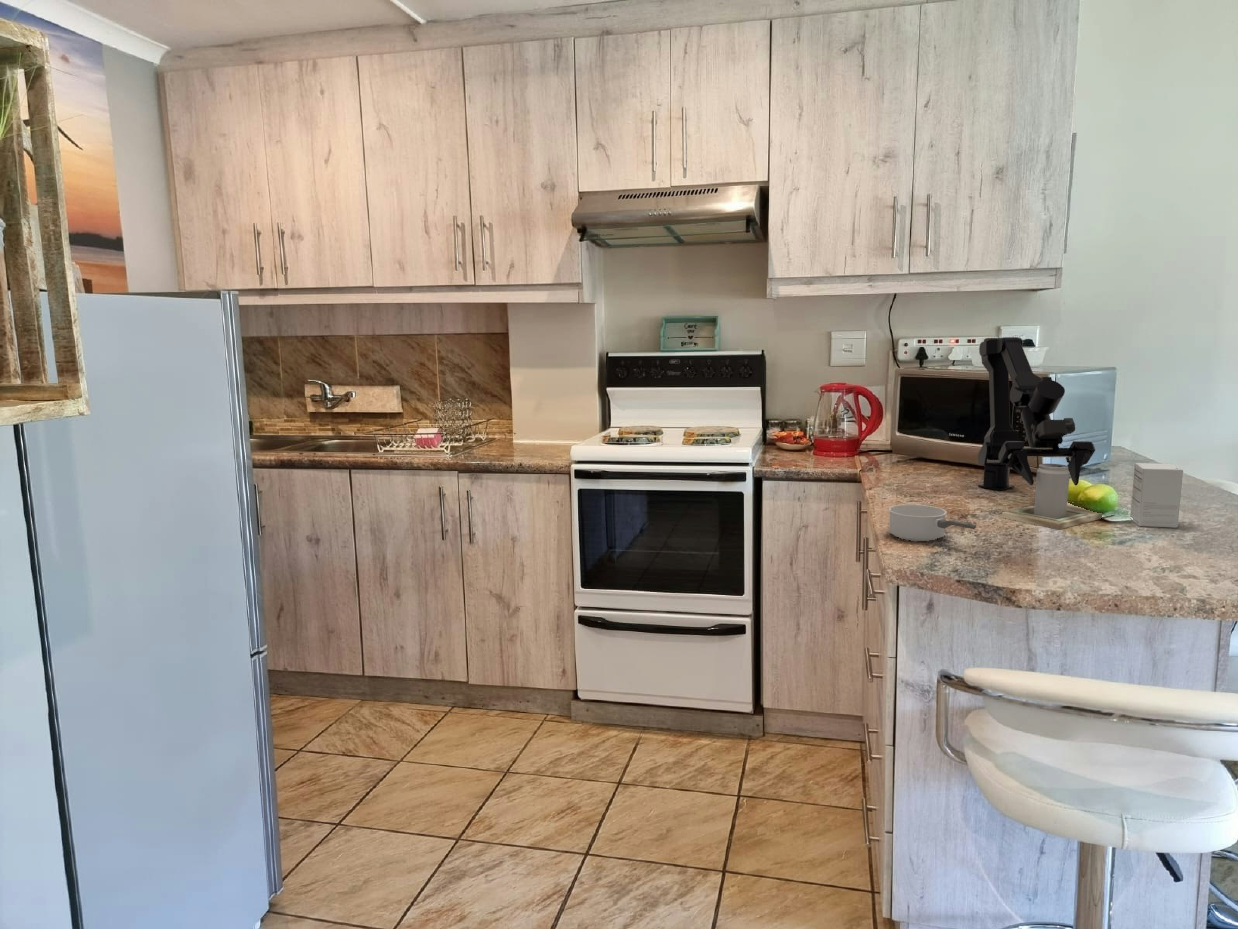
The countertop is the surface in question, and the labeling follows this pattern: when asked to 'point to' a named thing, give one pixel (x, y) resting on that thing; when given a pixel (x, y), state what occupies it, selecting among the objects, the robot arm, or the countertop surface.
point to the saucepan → (920, 522)
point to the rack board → (1072, 518)
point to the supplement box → (1156, 495)
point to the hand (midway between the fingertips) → (1054, 484)
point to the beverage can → (1051, 491)
